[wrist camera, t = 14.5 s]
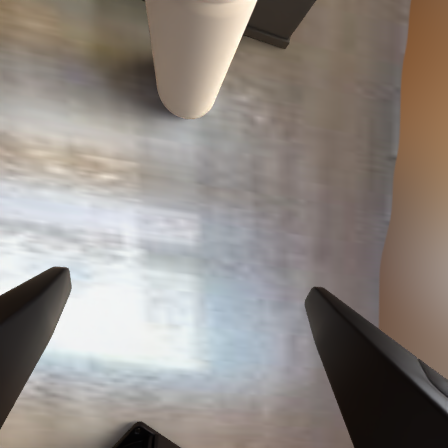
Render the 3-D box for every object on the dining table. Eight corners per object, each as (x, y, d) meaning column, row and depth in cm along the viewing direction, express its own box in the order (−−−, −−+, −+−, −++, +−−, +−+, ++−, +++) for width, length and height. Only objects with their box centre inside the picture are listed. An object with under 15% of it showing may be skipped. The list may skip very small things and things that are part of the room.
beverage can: (149, 107, 19) (111, -51, 7) (167, 50, 18) (159, -207, 7) (204, 130, 20) (251, 29, 8) (222, 77, 20) (294, -103, 8)
